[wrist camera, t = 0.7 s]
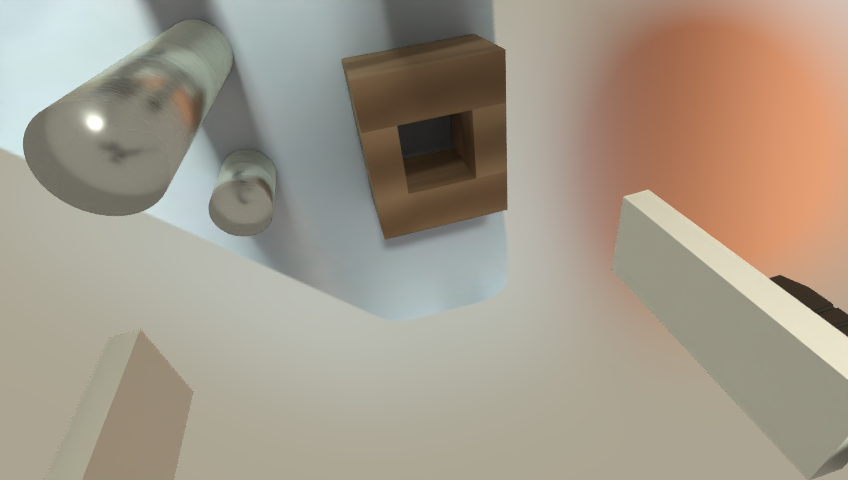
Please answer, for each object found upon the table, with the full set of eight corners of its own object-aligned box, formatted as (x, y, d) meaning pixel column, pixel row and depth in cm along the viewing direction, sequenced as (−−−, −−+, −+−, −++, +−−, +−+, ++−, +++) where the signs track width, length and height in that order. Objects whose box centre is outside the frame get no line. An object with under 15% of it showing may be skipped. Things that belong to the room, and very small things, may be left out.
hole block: (341, 59, 31) (349, 80, 26) (474, 33, 32) (505, 49, 27) (373, 202, 38) (384, 239, 33) (481, 176, 39) (507, 209, 34)
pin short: (212, 155, 32) (198, 192, 28) (266, 144, 33) (261, 178, 28) (233, 201, 35) (223, 242, 30) (283, 190, 35) (280, 228, 30)
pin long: (153, 25, 27) (-10, 116, 13) (218, 14, 28) (132, 89, 13) (182, 89, 29) (72, 227, 15) (242, 77, 30) (190, 201, 15)
